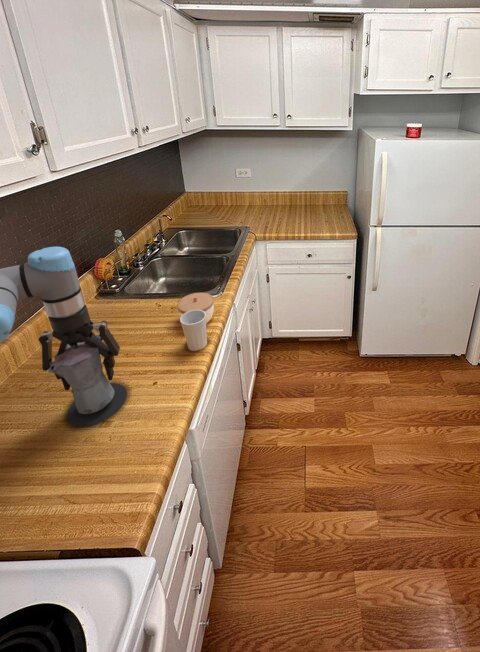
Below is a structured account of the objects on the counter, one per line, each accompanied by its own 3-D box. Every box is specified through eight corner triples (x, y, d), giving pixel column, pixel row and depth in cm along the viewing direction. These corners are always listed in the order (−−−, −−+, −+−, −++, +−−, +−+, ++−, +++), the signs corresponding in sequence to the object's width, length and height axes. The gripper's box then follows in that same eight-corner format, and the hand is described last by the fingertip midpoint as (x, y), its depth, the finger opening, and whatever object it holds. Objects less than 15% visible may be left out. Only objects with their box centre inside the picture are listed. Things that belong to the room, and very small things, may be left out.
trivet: (59, 437, 82) (58, 434, 82) (76, 393, 95) (75, 390, 94) (122, 420, 87) (122, 417, 86) (131, 380, 99) (130, 377, 99)
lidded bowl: (208, 308, 133) (205, 284, 129) (221, 323, 124) (218, 298, 120) (176, 320, 126) (171, 295, 122) (187, 337, 116) (183, 311, 112)
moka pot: (55, 416, 84) (32, 354, 77) (109, 373, 98) (94, 317, 91) (81, 429, 81) (60, 366, 74) (133, 383, 95) (120, 325, 88)
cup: (190, 337, 116) (186, 309, 112) (213, 338, 116) (209, 310, 112) (181, 354, 109) (175, 324, 105) (205, 354, 109) (200, 324, 104)
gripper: (121, 293, 86) (138, 361, 94) (18, 309, 79) (46, 381, 87) (115, 309, 79) (134, 381, 87) (3, 328, 72) (34, 404, 81)
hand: (90, 381), depth 87 cm, fingers closed on moka pot, 9 cm apart
